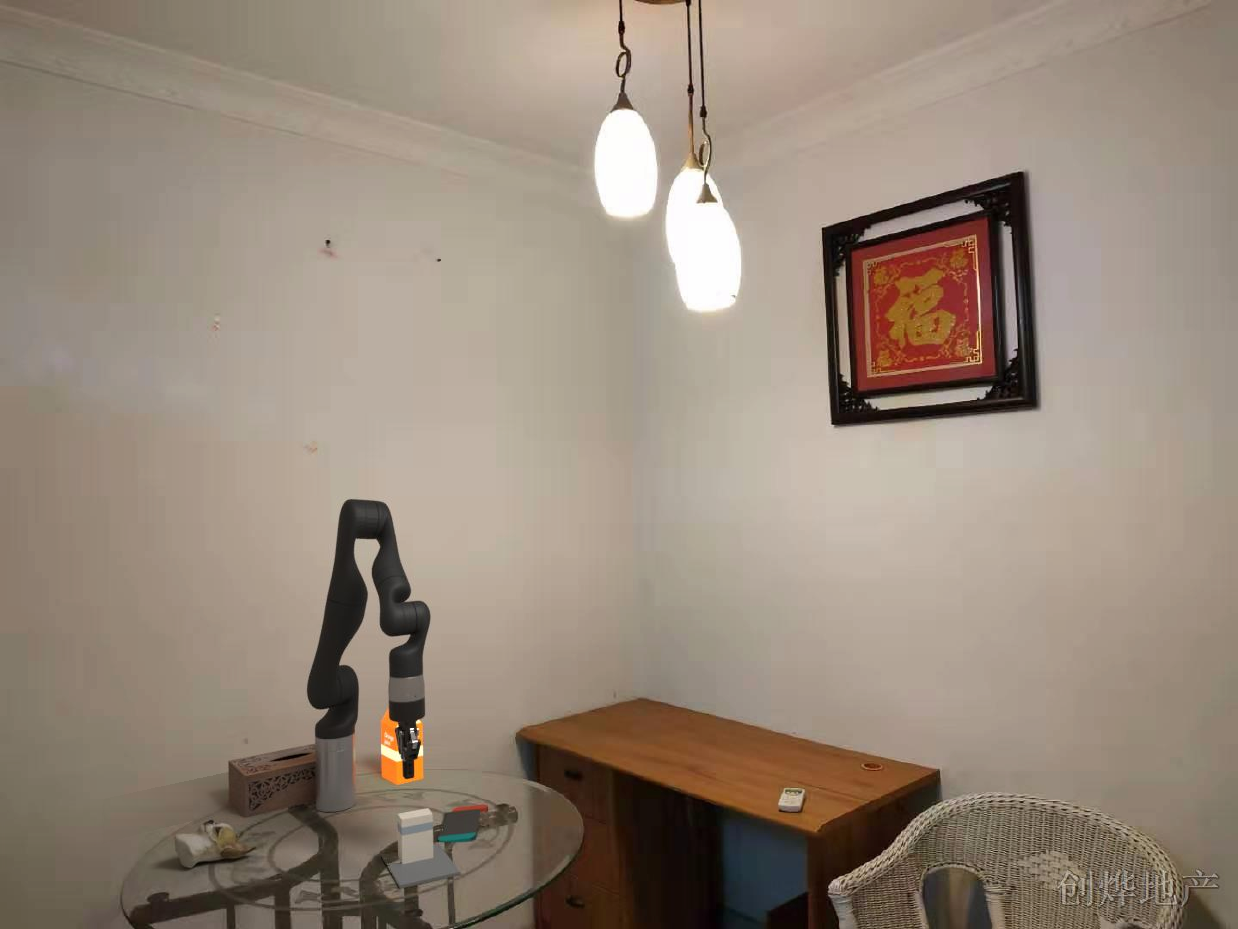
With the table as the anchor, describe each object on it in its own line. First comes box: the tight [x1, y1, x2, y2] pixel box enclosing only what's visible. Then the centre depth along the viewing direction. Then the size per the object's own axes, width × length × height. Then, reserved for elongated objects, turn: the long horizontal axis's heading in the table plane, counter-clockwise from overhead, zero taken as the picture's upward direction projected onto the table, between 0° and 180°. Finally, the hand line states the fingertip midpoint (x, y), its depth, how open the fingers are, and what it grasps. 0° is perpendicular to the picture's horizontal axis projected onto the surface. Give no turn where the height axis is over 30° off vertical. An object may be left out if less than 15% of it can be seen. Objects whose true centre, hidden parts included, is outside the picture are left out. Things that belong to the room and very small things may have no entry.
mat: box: [384, 842, 461, 889], centre depth 182 cm, size 16×12×1 cm
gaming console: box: [437, 804, 489, 844], centre depth 203 cm, size 19×1×10 cm
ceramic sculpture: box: [173, 819, 257, 869], centre depth 187 cm, size 11×9×15 cm
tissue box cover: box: [228, 743, 316, 819], centre depth 223 cm, size 26×14×10 cm, turn 128°
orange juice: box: [380, 707, 424, 786], centre depth 236 cm, size 8×9×20 cm
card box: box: [397, 807, 434, 864], centre depth 185 cm, size 4×6×9 cm, turn 117°
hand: (408, 777), depth 190 cm, fingers closed
